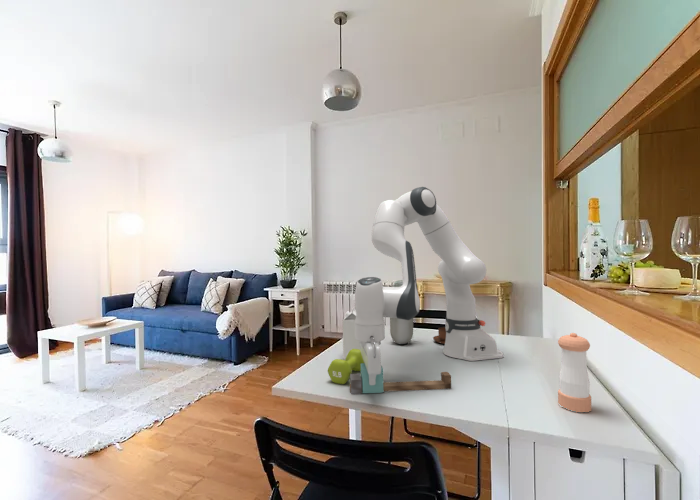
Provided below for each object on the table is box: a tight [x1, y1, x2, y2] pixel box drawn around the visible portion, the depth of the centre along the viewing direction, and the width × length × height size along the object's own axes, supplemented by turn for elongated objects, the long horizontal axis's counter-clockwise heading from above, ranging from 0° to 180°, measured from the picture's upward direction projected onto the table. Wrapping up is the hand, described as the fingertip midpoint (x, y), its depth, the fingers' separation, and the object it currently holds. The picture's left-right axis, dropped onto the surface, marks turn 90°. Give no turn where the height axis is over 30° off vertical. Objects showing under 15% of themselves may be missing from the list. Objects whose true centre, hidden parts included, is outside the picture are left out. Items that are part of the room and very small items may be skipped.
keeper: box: [360, 363, 384, 394], centre depth 103 cm, size 6×6×7 cm
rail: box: [349, 371, 452, 395], centre depth 103 cm, size 30×5×4 cm, turn 94°
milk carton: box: [342, 306, 360, 360], centre depth 135 cm, size 7×7×19 cm
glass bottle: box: [389, 279, 414, 345], centre depth 154 cm, size 10×10×28 cm
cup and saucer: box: [432, 326, 446, 345], centre depth 155 cm, size 12×12×6 cm
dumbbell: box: [327, 349, 364, 385], centre depth 115 cm, size 16×8×7 cm, turn 153°
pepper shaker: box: [557, 332, 592, 413], centre depth 91 cm, size 7×7×19 cm
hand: (370, 379), depth 103 cm, fingers open, 6 cm apart
